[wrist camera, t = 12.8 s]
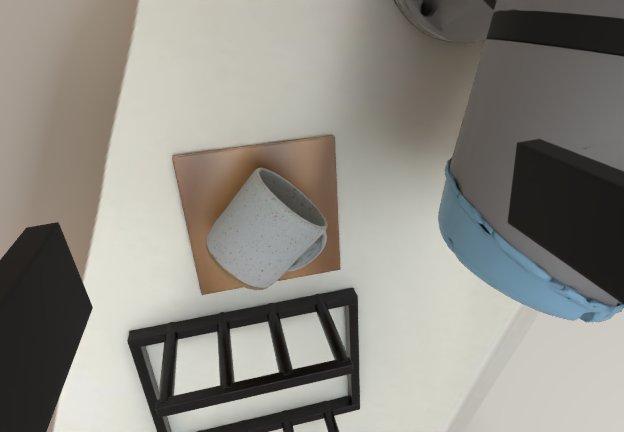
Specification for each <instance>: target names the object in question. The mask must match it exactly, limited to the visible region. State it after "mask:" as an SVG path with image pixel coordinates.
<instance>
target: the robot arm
mask: <svg viewBox="0 0 624 432" xmlns="http://www.w3.org/2000/svg"><path fill="white" fill-rule="evenodd" d="M395 2H396V4H397V6H398V7H399V9H400V10H401V12H402V13H403V14H404V15H405V17H406V18H407V19H408V20H409V21H410V22H411V23H412V24H413V25H414V26H416V27H417V28H418V29H419V30H421V31H423V32H424V33H426V34H428V35H430V36H432V37H435V38H438V39H441V40H446V41H452V42H461V43H475V42H481V41H485V42H484V46H483V49H482V53H481V57H480V60H479V64H478V68H477V72H476V75H475V79H474V83H473V86H472V90H471V94H470V97H469V101H468V105H467V108H466V112H465V115H464V118H463V122H462V125H461V129H460V132H459V136H458V139H457V142H456V146H455V149H454V153H453V156H452V158H451V159H450V160H448V161H447V164H446V168H445V175H446V181H445V186H444V190H443V195H442V199H441V204H440V208H439V215H438V221H439V227H440V231H441V234H442V236H443V239H444V240H445V242H446V243H447V245H448V247H449V248H450V249H451V250H452V251H453V252H454V253H455V255H456V257H457V258H458V259H459V261H460V262H461V263H462V264H463V265H464V266H465V267H467V268H468V269H469V270H470V271H471V272H472V273H474V274H475V275H476V276H477V277H479V278H480V279H481V280H483V281H484V282H486V283H487V284H488V285H490V286H491V287H493V288H495V289H496V290H498V291H500V292H501V293H503V294H505V295H506V296H508V297H510V298H512V299H514V300H516V301H518V302H520V303H522V304H524V305H526V306H528V307H531V308H533V309H535V310H538V311H540V312H543V313H546V314H549V315H552V316H556V317H559V318H563V319H567V320H576V319H578V318H580V319H581V320H583V321H585V322H601V321H605V320H608V319H610V318H611V317H612V316H614V315H615V314H616V313H618V312H621V311H622V309H623V308H624V0H395ZM92 308H93V307H92V304H91V302H90V300H89V297H88V295H87V292H86V290H85V287H84V285H83V282H82V280H81V277H80V275H79V272H78V270H77V267H76V265H75V262H74V260H73V257H72V255H71V252H70V250H69V247H68V245H67V242H66V240H65V238H64V235H63V232H62V230H61V228H60V225H59V223H58V222H57V223H51V224H46V225H40V226H34V227H28V228H26V229H25V230H24V231H23V233H22V234H21V235H20V236H19V238H18V239H17V240H16V241H15V243H14V244H13V245H12V246H11V247H10V249H9V250H8V251H7V253H6V254H5V255H4V256H3V257H2V259H1V260H0V432H46V431H47V429H48V426H49V423H50V420H51V418H52V415H53V412H54V410H55V407H56V404H57V402H58V399H59V396H60V394H61V391H62V388H63V386H64V383H65V380H66V378H67V375H68V372H69V370H70V367H71V364H72V362H73V359H74V356H75V354H76V351H77V348H78V346H79V343H80V340H81V338H82V335H83V332H84V330H85V327H86V324H87V322H88V319H89V316H90V314H91V311H92Z"/></svg>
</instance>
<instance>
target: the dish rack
mask: <svg viewBox="0 0 624 432" xmlns="http://www.w3.org/2000/svg"><path fill="white" fill-rule="evenodd" d="M342 306H345V316H346V342H347V353H346V350H345V348H344V345H343V343H342V341H341V338H340V336H339V334H338V331H337V329H336V327H335V324H334V322H333V320H332V317H331V315H330V312H329V310H328V309H332V308H337V307H342ZM312 312H317V315H318V317H319V320H320V322H321V325H322V328H323V330H324V333H325V335H326V338H327V341H328V343H329V346H330V348H331V351H332V354H333V356H334V359H335V360H333V361H329V362H324V363H320V364H315V365H311V366H306V367H302V368H297V369H293V368H292V365H291V361H290V357H289V353H288V349H287V345H286V341H285V337H284V333H283V329H282V325H281V322H280V319H282V318H287V317H292V316H297V315H302V314H307V313H312ZM267 321H268V324H269V328H270V333H271V338H272V342H273V347H274V352H275V356H276V361H277V365H278V370H279V373H275V374H270V375H266V376H261V377H257V378H252V379H248V380H243V381H239V382H235V381H234V370H233V359H232V348H231V337H230V329H232V328H237V327H242V326H247V325H252V324H257V323H262V322H267ZM212 332H217V334H218V353H219V372H220V386H216V387H212V388H207V389H203V390H198V391H194V392H189V393H185V394H180V395H176V396H174V387H175V373H176V358H177V344H178V339H182V338H187V337H192V336H197V335H202V334H207V333H212ZM162 342H164V351H163V360H162V370H161V379H160V388H159V390H158V387H157V383H156V380H155V377H154V374H153V370H152V367H151V364H150V361H149V357H148V354H147V351H146V348H145V346H147V345H152V344H157V343H162ZM128 344H129V348H130V350H131V353H132V356H133V359H134V362H135V365H136V369H137V372H138V375H139V378H140V381H141V384H142V387H143V390H144V393H145V396H146V399H147V402H148V405H149V408H150V411H151V414H152V417H153V421H154V424H155V427H156V430H157V432H171V429H170V426H169V423H168V419H167V416H169V415H173V414H178V413H182V412H186V411H191V410H195V409H199V408H204V407H208V406H212V405H217V404H221V403H226V402H230V401H234V400H239V399H243V398H247V397H252V396H256V395H260V394H265V393H269V392H274V391H278V390H282V389H287V388H291V387H295V386H300V385H304V384H308V383H313V382H317V381H322V380H326V379H330V378H335V377H339V376H343V375H348V395H349V396H347V397H343V398H339V399H335V400H330V401H324V402H322V403H318V404H314V405H309V406H305V407H301V408H297V409H293V410H288V411H283V412H280V413H276V414H272V415H267V416H263V417H259V418H255V419H251V420H246V421H241V422H238V423H234V424H230V425H225V426H221V427H217V428H213V429H209V430H204V431H198V432H269V431H274V430H278V429H282V428H283V432H294V429H293V426H294V425H298V424H302V423H306V422H310V421H314V420H318V419H323V418H324V420H325V423H326V426H327V429H328V432H339V430H338V427H337V423H336V420H335V417H334V416H335V415H339V414H343V413H347V412H351V411H355V410H359V409H360V385H359V339H358V296H357V294H356V292H355V290H354V289H353V288H350V289H345V290H340V291H335V292H330V293H325V294H317V295H314V296H309V297H304V298H299V299H294V300H288V301H283V302H278V303H270V304H268V305H263V306H257V307H252V308H247V309H242V310H237V311H231V312H226V313H224V312H222V313H219V314H216V315H211V316H206V317H200V318H195V319H190V320H185V321H180V322H171V323H168V324H164V325H159V326H154V327H149V328H144V329H138V330H133V331H130V332H129V337H128Z"/></svg>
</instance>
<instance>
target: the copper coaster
mask: <svg viewBox="0 0 624 432" xmlns="http://www.w3.org/2000/svg"><path fill="white" fill-rule="evenodd" d="M172 159H173V164H174V169H175V173H176V178H177V182H178V187H179V192H180V196H181V201H182V206H183V210H184V215H185V220H186V224H187V229H188V233H189V238H190V243H191V247H192V252H193V257H194V261H195V266H196V271H197V275H198V280H199V284H200V289H201V294H202V295H204V294H210V293H215V292H221V291H226V290H232V289H237V288H242V286H240V285H238V284H236V283H235V282H233V281H231V280H230V279H229V278H227V277H226V276H225V275H224V274H223V273H221V271H220V270H219V269H218V268H217V267H216V266H215V265H214V264H213V262H212V260H211V259H210V257H209V255H208V252H207V249H206V239H207V236H208V234H209V232H210V230H211V228H212V226H213V225H214V223H215V222H216V220H217V219H218V218H219V217H220V215H221V214H222V213H223V212H224V211H225V209H226V208H227V207H228V205H229V204H230V202H231V201H232V200H233V198H234V197H235V196H236V194H237V193H238V192H239V191H240V189H241V188H242V187H243V185H244V184H245V183H246V181H247V180H248V179H249V177H250V176H251V175H252V173H253V172H254V171H255V170H256V169H258V168H265V169H268V170H270V171H273V172H275V173H276V174H278V175H280V176H281V177H283V178H284V179H286V180H287V181H289V182H290V183H291V184H292V185H293V186H295V187H296V188H297V189H299V190H300V191H301V192H302V193H303V194H304V195H305V196H307V198H308V199H310V200H311V201H312V203H313V204H314V205H315V206H316V207H317V208H318V209H319V211H320V212H321V213H322V214H323V216H324V217H325V219H326V222H327V225H328V227H327V229H326V235H327V242H326V245H325V247H324V249H323V250H322V252H321V253H320V254H319V255H318V256H317V257H316V258H315V259H314V260H313V261H312V262H310V263H309V264H307V265H306V266H304V267H302V268H300V269H297V270H295V271H287V272H286V273H285V274H283V275H282V276H281V277H280V278H279V279H278V280H277V281H280V280H286V279H291V278H297V277H302V276H307V275H313V274H318V273H324V272H329V271H335V270H340V251H339V227H338V204H337V180H336V156H335V137H334V136H333V135H330V136H322V137H314V138H307V139H299V140H291V141H283V142H275V143H268V144H260V145H252V146H244V147H236V148H229V149H221V150H213V151H205V152H197V153H190V154H182V155H174V156H173V157H172Z"/></svg>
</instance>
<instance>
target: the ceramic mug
mask: <svg viewBox="0 0 624 432" xmlns="http://www.w3.org/2000/svg"><path fill="white" fill-rule="evenodd" d="M327 227H328V225H327V222H326V219H325V217H324V216H323V214H322V213H321V212H320V211H319V209H318V208H317V207H316V206H315V205H314V204H313V203H312V201H311V200H310V199H308V198H307V196H305V195H304V194H303V193H302V192H301V191H300V190H299V189H297V188H296V187H295V186H293V185H292V184H291V183H290V182H289V181H287V180H286V179H284V178H283V177H281V176H280V175H278V174H276V173H275V172H273V171H270V170H268V169H265V168H258V169H256V170H255V171H254V172H253V173H252V175H251V176H250V177H249V179H248V180H247V181H246V183H245V184H244V185H243V187H242V188H241V189H240V191H239V192H238V193H237V194H236V196H235V197H234V198H233V200H232V201H231V202H230V204H229V205H228V207H227V208H226V209H225V211H224V212H223V213H222V214H221V215H220V217H219V218H218V219H217V220H216V222H215V223H214V225H213V226H212V228H211V230H210V232H209V234H208V236H207V239H206V249H207V252H208V255H209V257H210V259H211V260H212V262H213V264H214V265H215V266H216V267H217V268H218V269H219V270H220V271H221V273H223V274H224V275H225V276H226V277H227V278H229V279H230V280H231V281H233V282H235V283H236V284H238V285H240V286H242V287H245V288H248V289H252V290H263V289H266V288H267V287H269V286H271V285H272V284H273V283H275V282H276V281H277V280H278V279H279V278H280V277H281V276H282V275H283V274H285V273H286V272H287V271H295V270H297V269H300V268H302V267H304V266H306V265H307V264H309V263H310V262H312V261H313V260H314V259H315V258H316V257H317V256H318V255H319V254H320V253H321V252H322V250H323V249H324V247H325V245H326V242H327V235H326V229H327Z"/></svg>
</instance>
